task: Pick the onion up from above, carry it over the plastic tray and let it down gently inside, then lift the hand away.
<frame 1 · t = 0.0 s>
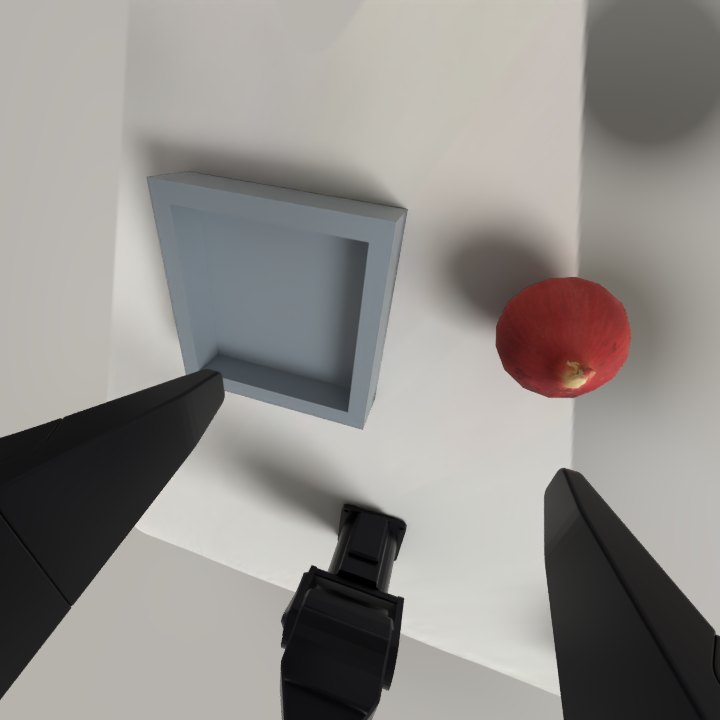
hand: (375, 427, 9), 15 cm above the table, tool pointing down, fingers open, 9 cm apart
onion: (545, 307, 21), on the table
tray: (291, 297, 25), on the table
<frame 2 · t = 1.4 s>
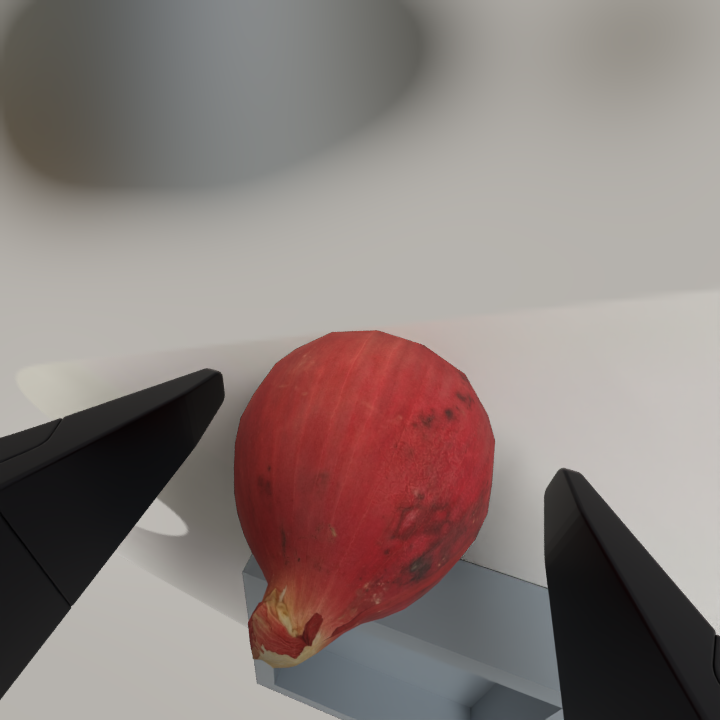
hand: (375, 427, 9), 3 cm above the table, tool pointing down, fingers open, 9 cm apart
onion: (395, 366, 12), on the table
tray: (397, 613, 20), on the table
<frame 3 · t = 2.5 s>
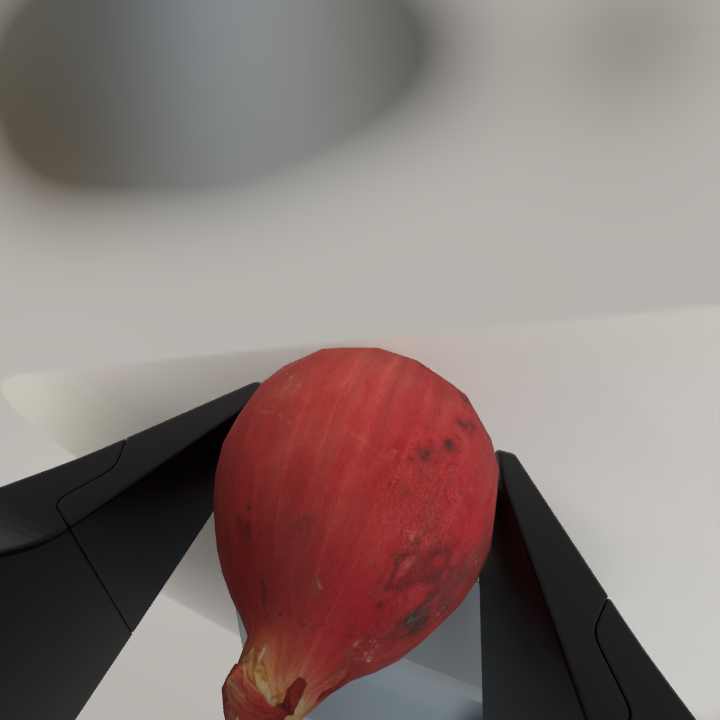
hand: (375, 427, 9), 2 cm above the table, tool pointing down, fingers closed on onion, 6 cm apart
onion: (392, 379, 11), on the table, touching gripper
tray: (395, 629, 19), on the table
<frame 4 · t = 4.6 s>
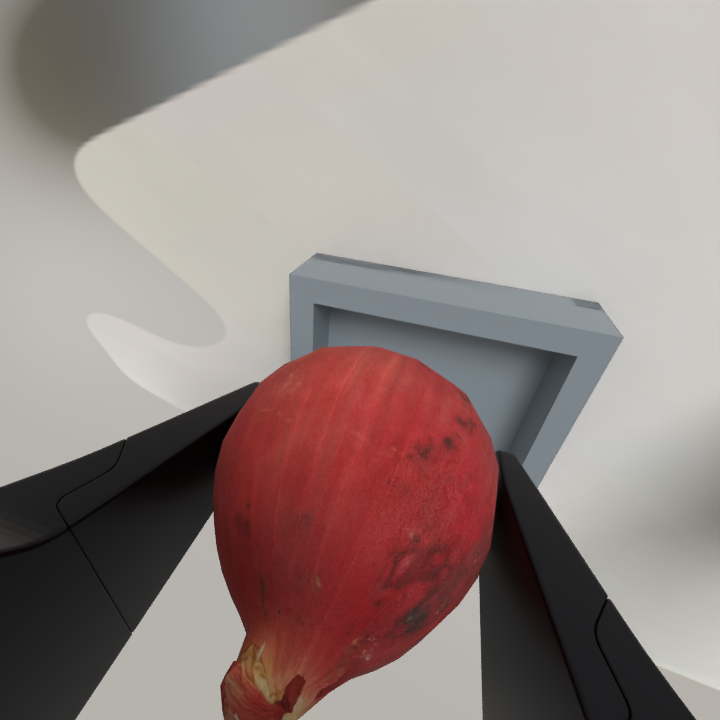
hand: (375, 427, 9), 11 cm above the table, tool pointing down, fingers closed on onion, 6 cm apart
onion: (392, 378, 11), point 9 cm above the table, touching gripper
tray: (422, 386, 22), on the table
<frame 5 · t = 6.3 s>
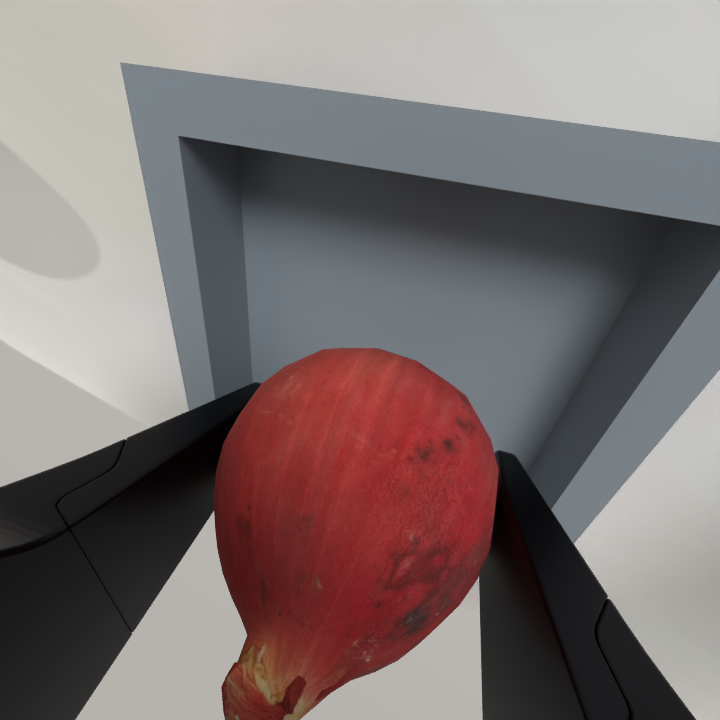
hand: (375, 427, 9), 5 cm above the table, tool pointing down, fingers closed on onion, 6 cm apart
onion: (392, 379, 11), point 3 cm above the table, touching gripper
tray: (403, 339, 13), on the table
when the fingers open (5 cm above the table, at t = 7.0 s): onion drops 2 cm, resting on tray.
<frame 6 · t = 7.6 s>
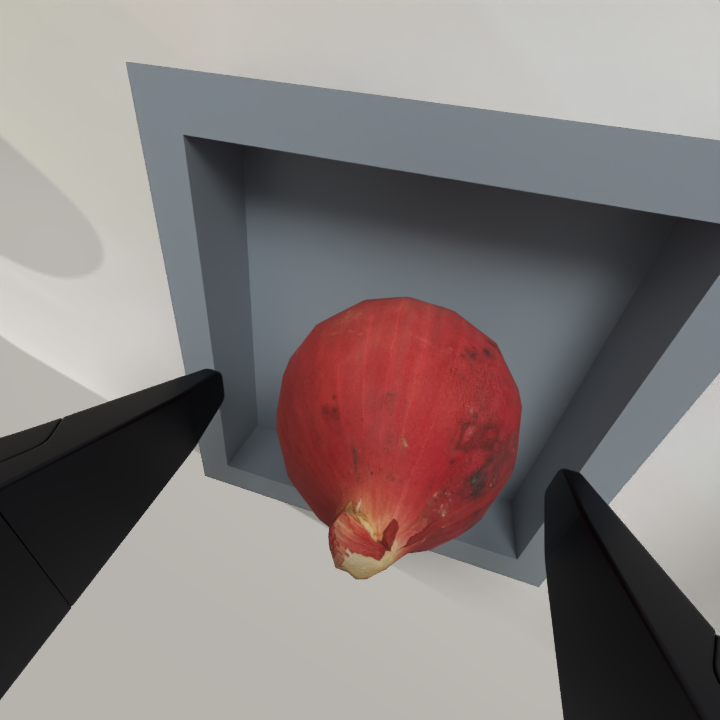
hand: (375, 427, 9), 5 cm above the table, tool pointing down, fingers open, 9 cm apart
onion: (404, 352, 13), point 1 cm above the table, touching tray
tray: (406, 338, 13), on the table
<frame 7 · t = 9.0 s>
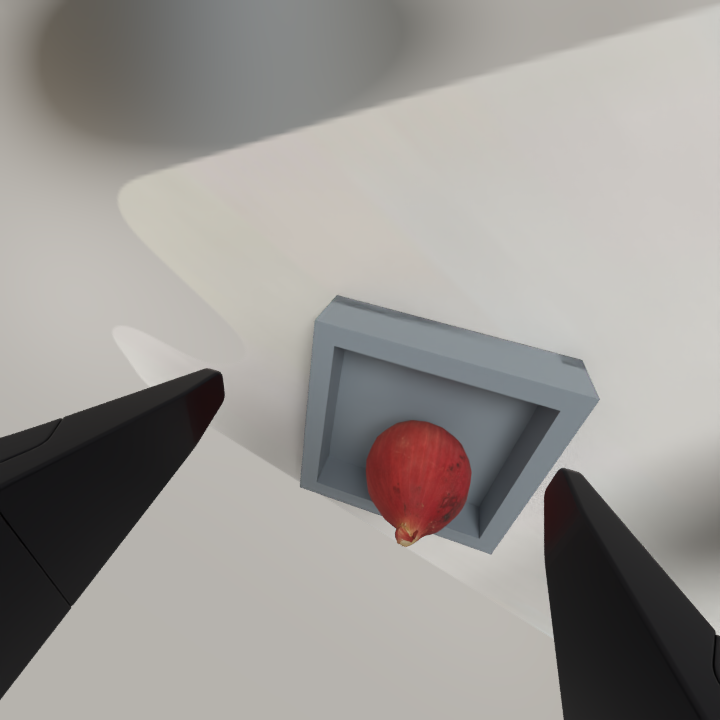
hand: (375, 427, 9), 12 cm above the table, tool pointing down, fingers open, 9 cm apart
onion: (422, 424, 24), point 1 cm above the table, touching tray
tray: (422, 415, 24), on the table
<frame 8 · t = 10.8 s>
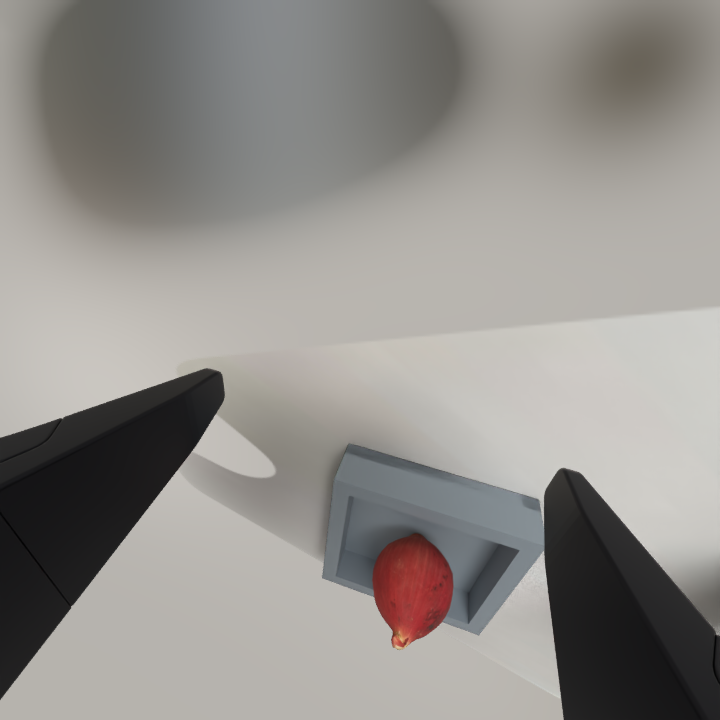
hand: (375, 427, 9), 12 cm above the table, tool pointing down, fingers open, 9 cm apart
onion: (419, 533, 29), point 1 cm above the table, touching tray
tray: (419, 524, 30), on the table
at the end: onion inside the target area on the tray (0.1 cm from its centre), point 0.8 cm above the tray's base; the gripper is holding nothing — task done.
